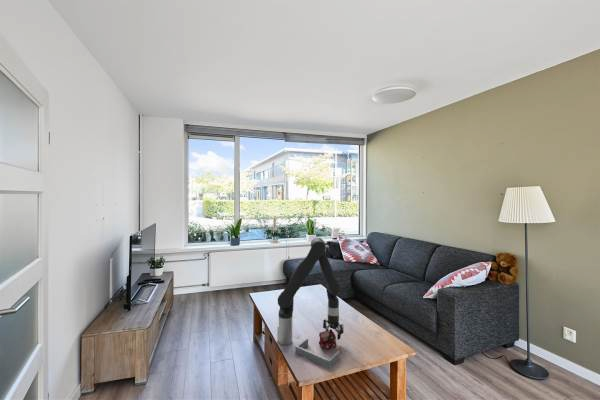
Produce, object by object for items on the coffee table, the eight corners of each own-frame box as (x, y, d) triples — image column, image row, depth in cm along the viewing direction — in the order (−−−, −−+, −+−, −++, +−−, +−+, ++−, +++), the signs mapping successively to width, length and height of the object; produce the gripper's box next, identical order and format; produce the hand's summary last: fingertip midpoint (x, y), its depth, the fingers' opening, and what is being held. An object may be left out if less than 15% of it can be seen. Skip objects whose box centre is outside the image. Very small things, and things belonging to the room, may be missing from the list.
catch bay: (295, 352, 170) (295, 346, 170) (306, 344, 180) (306, 338, 180) (329, 368, 155) (329, 361, 155) (340, 358, 165) (340, 351, 165)
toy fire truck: (338, 346, 177) (339, 330, 177) (322, 351, 171) (322, 335, 171) (332, 341, 183) (332, 326, 183) (316, 346, 178) (316, 330, 177)
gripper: (321, 312, 184) (320, 336, 184) (340, 318, 175) (339, 343, 176) (326, 308, 190) (326, 331, 190) (345, 314, 181) (345, 338, 182)
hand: (333, 337), depth 183 cm, fingers open, 8 cm apart
